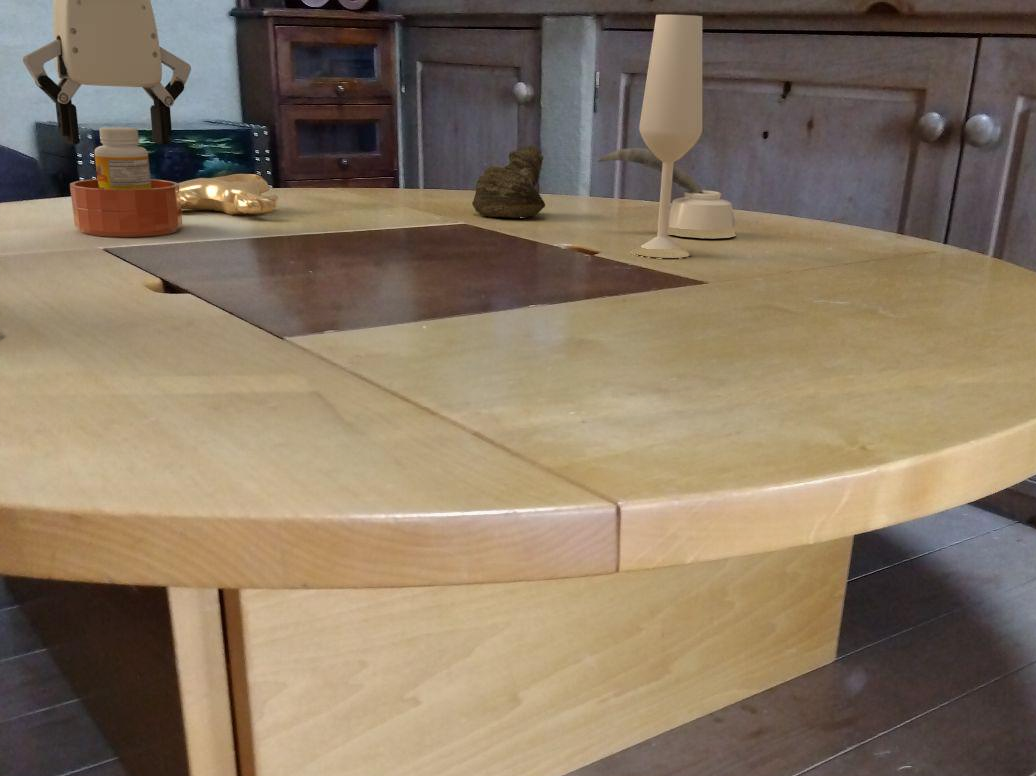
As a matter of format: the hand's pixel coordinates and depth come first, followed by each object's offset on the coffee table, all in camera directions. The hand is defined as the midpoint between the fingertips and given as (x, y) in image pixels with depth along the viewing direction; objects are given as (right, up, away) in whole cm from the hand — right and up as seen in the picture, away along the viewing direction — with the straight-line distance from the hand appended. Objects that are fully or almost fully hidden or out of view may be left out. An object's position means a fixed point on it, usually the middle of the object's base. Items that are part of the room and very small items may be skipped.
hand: (117, 143), depth 123 cm
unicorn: (+5, -2, +20) cm, 20 cm away
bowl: (0, -8, +4) cm, 9 cm away
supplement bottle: (0, -8, +4) cm, 9 cm away
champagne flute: (+60, -12, +2) cm, 61 cm away
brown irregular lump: (+40, 0, +26) cm, 48 cm away
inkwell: (+62, -6, +16) cm, 64 cm away
